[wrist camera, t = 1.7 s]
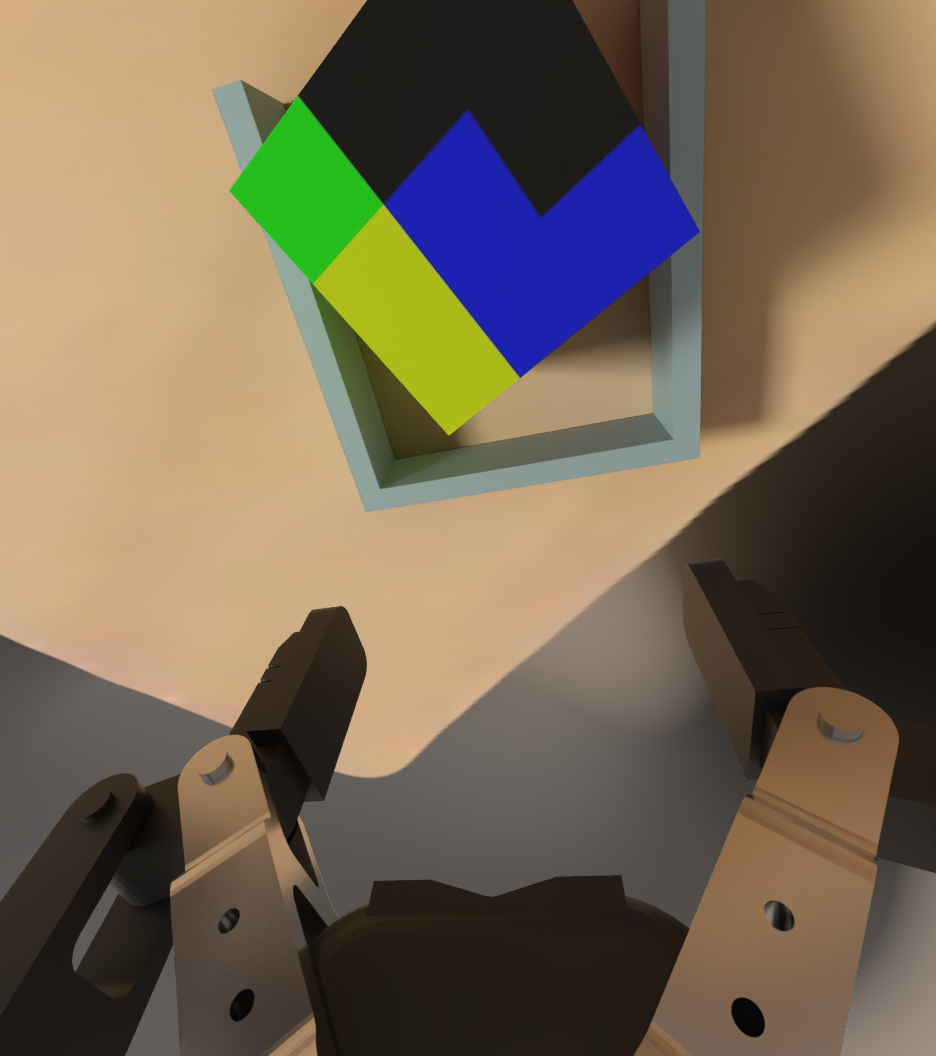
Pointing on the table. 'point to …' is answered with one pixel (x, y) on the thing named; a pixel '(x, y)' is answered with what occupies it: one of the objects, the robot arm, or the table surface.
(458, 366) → the puzzle toy
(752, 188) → the table surface
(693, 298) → the grey-blue flat square frame
